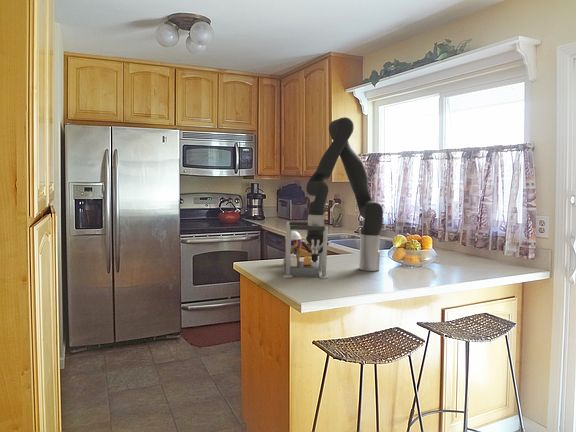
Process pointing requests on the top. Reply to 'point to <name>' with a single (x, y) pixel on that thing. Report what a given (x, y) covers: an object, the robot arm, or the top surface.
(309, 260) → the toggle orange
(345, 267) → the top surface
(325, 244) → the gray open frame stand
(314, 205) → the robot arm
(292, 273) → the gray open tray
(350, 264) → the top surface
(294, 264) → the toggle white near
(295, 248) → the smoothie
